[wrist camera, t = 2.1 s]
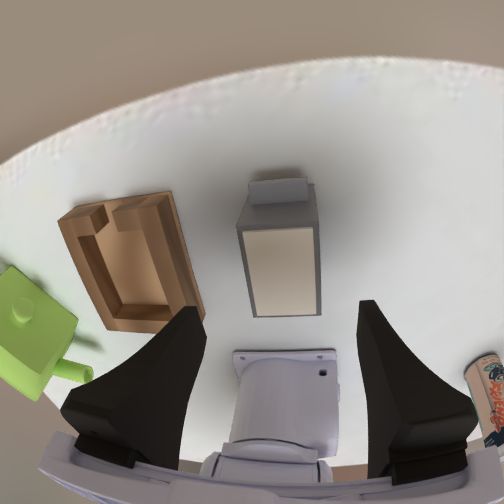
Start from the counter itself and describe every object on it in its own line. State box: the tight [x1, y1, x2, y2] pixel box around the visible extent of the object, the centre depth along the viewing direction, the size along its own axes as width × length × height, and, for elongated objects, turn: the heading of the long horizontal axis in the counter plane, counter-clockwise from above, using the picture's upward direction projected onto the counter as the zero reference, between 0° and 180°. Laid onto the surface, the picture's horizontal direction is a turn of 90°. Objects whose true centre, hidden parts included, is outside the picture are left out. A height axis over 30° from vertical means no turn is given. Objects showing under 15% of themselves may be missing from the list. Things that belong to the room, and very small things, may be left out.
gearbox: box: [0, 266, 93, 402], centre depth 27 cm, size 18×10×10 cm, turn 53°
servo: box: [236, 177, 321, 318], centre depth 19 cm, size 4×8×6 cm, turn 9°
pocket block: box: [57, 191, 205, 334], centre depth 23 cm, size 9×11×3 cm
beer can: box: [464, 355, 504, 463], centre depth 21 cm, size 5×5×12 cm
